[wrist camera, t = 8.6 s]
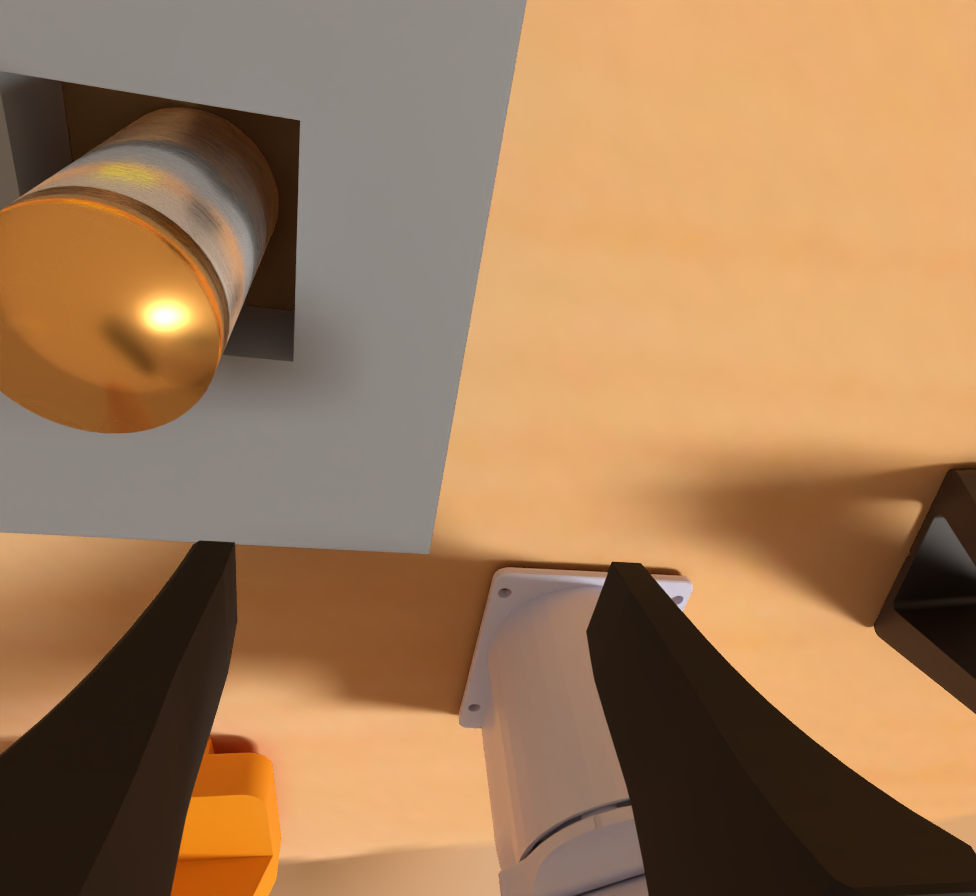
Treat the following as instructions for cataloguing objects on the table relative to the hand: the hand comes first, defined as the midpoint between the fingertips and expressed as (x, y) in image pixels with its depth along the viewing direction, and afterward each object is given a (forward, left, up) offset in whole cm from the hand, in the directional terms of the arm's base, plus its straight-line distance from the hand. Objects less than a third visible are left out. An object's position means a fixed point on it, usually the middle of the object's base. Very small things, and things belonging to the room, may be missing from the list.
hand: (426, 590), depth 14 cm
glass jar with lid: (+4, +6, -9) cm, 12 cm away
